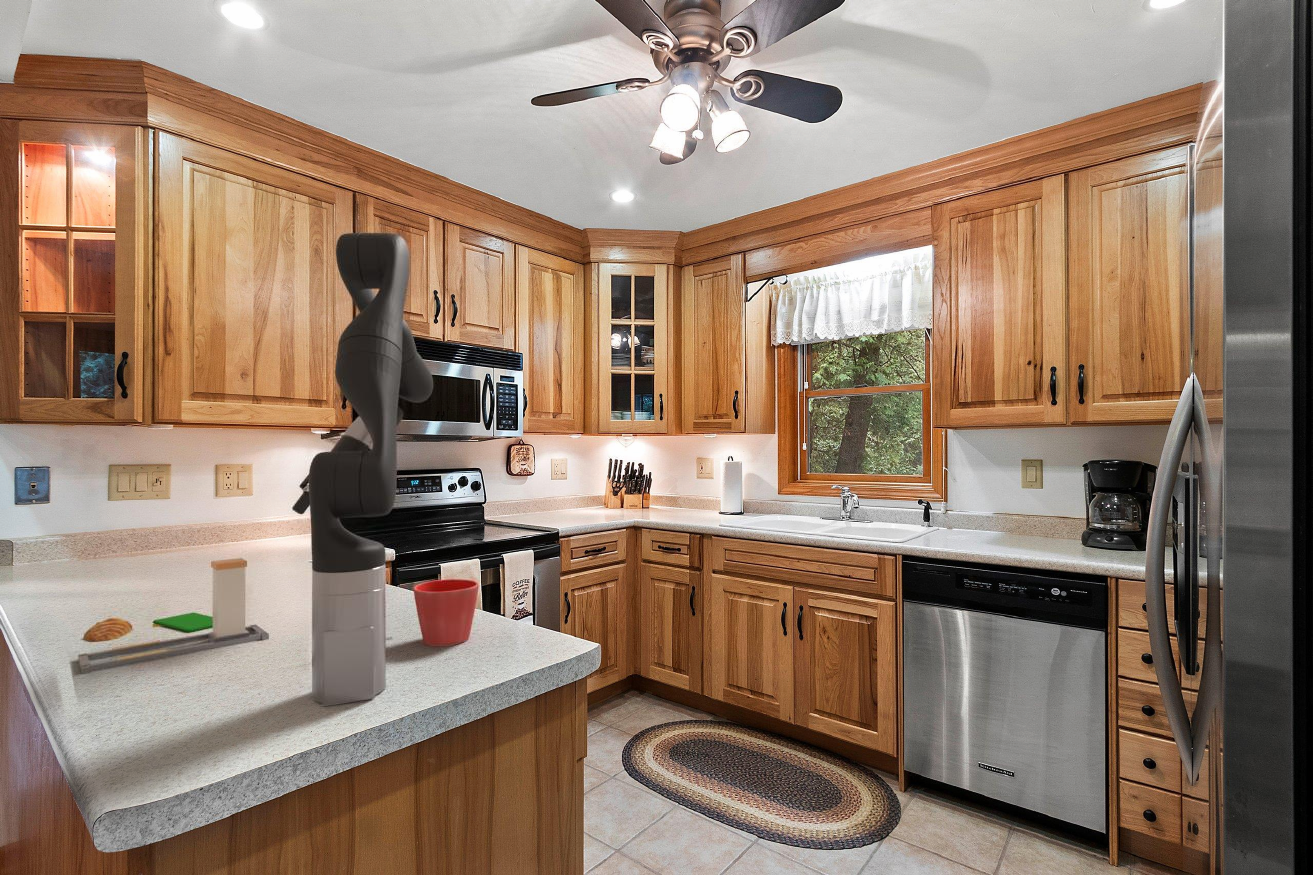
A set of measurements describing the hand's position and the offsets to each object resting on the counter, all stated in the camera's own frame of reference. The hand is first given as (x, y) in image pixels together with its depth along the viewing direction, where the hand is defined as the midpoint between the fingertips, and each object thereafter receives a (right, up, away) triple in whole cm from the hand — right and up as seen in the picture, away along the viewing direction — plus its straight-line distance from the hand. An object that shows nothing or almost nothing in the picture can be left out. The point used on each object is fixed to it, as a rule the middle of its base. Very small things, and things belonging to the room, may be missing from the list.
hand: (309, 515), depth 119 cm
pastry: (-33, -22, -5) cm, 40 cm away
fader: (-9, -20, -9) cm, 24 cm away
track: (-14, -21, -14) cm, 29 cm away
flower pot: (+27, -21, -6) cm, 35 cm away
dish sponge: (-23, -23, +2) cm, 32 cm away
